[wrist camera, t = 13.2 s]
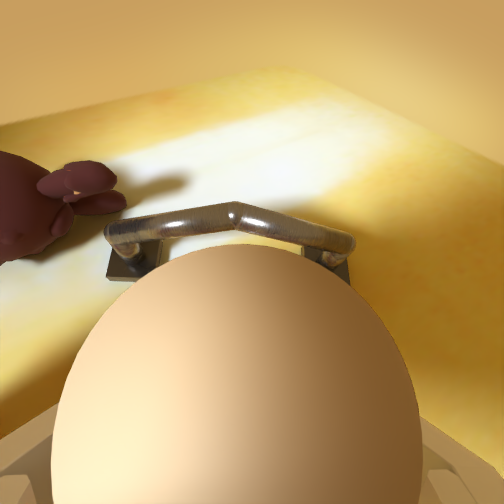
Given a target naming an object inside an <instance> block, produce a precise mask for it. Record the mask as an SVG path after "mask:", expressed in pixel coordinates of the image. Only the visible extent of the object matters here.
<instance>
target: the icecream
mask: <svg viewBox="0 0 504 504" xmlns="http://www.w3.org/2000/svg"><path fill="white" fill-rule="evenodd" d="M116 183H117V176H116V175H115V174H114V173H113V172H112V171H111V170H110V169H109V168H107V167H106V166H105V165H104V164H102V163H99V162H94V161H90V160H89V161H79V162H72V163H69V164H66V165H65V166H64V169H60V170H56V171H54V172H52V173H50V172H49V171H48V170H46V169H44V168H42V167H41V166H39V165H37V164H35V163H33V162H31V161H29V160H27V159H25V158H23V157H21V156H17V155H14V154H10V153H7V152H3V151H0V266H1V265H2V264H3V263H4V262H6V261H13V260H16V259H18V258H21V257H23V256H25V255H28V254H39V253H40V252H41V251H43V250H44V249H45V247H46V246H47V245H49V244H50V243H52V242H53V241H55V240H56V238H57V237H61V236H64V235H65V234H66V233H67V232H68V230H69V229H70V227H71V225H72V223H73V217H74V215H103V214H107V213H112V212H116V211H119V210H121V209H123V208H125V207H126V199H125V197H124V196H123V194H121V193H119V192H117V191H115V190H110V189H113V187H114V186H115V184H116Z"/></svg>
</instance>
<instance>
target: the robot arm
mask: <svg viewBox="0 0 504 504" xmlns="http://www.w3.org/2000/svg"><path fill="white" fill-rule="evenodd" d="M58 405H59V402H58V403H57V404H55V405H54V406H52V407H51V408H49V409H48V410H46V411H44V412H43V413H41V414H40V415H38V416H37V417H35V418H33V419H32V420H30V421H29V422H27V423H26V424H24V425H22V426H21V427H19V428H18V429H16V430H15V431H13V432H12V433H10V434H8V435H7V436H5V437H4V438H2V439H1V440H0V504H54V501H53V496H52V478H51V454H52V440H53V431H54V426H55V420H56V415H57V410H58ZM420 423H421V429H422V446H423V468H422V482H421V491H420V497H419V502H418V504H504V479H503V478H502V477H501V476H500V474H499V473H498V472H497V471H496V469H495V468H494V467H493V466H491V465H490V464H488V463H487V462H485V461H484V460H482V459H481V458H480V457H478V456H477V455H475V454H474V453H472V452H471V451H469V450H468V449H467V448H465V447H464V446H462V445H461V444H459V443H458V442H456V441H455V440H454V439H452V438H451V437H449V436H448V435H446V434H445V433H444V432H442V431H441V430H439V429H438V428H436V427H435V426H433V425H432V424H431V423H429V422H428V421H426V420H425V419H423V418H422V417H420Z"/></svg>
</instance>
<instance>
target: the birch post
mask: <svg viewBox="0 0 504 504" xmlns="http://www.w3.org/2000/svg"><path fill="white" fill-rule="evenodd" d="M422 468H423V446H422V429H421V423H420V416H419V409H418V404H417V400H416V396H415V393H414V389H413V385H412V381H411V378H410V376H409V373H408V371H407V368H406V365H405V363H404V360H403V358H402V356H401V354H400V352H399V350H398V348H397V346H396V344H395V342H394V340H393V338H392V336H391V335H390V333H389V332H388V330H387V328H386V327H385V325H384V324H383V322H382V321H381V319H380V318H379V317H378V315H377V314H376V313H375V312H374V310H373V309H372V308H371V307H370V305H369V304H368V303H367V302H366V301H365V300H364V299H363V298H362V297H361V296H360V295H359V294H358V293H357V292H356V291H355V290H354V289H353V288H352V287H351V286H350V285H348V284H347V283H346V282H345V281H343V280H342V279H341V278H340V277H338V276H337V275H336V274H334V273H332V272H331V271H329V270H328V269H326V268H324V267H323V266H321V265H320V264H318V263H315V262H313V261H311V260H309V259H307V258H305V257H303V256H300V255H297V254H294V253H292V252H289V251H286V250H282V249H277V248H273V247H268V246H260V245H250V244H237V245H223V246H216V247H209V248H205V249H202V250H198V251H194V252H191V253H188V254H185V255H183V256H180V257H178V258H175V259H173V260H171V261H169V262H167V263H165V264H163V265H161V266H159V267H157V268H156V269H154V270H152V271H151V272H150V273H148V274H147V275H145V276H144V277H142V278H141V279H139V280H138V281H137V282H135V283H134V284H133V285H132V286H131V287H130V288H128V289H127V290H126V291H125V292H124V293H123V294H121V295H120V296H119V298H118V299H117V300H116V301H115V302H114V303H113V304H112V305H111V306H110V307H109V308H108V309H107V310H106V312H105V313H104V314H103V315H102V317H101V318H100V319H99V321H98V322H97V324H96V325H95V326H94V328H93V329H92V330H91V332H90V333H89V335H88V337H87V338H86V340H85V342H84V344H83V345H82V347H81V349H80V351H79V352H78V354H77V356H76V359H75V361H74V363H73V365H72V368H71V370H70V372H69V374H68V377H67V379H66V382H65V386H64V389H63V392H62V395H61V398H60V402H59V405H58V410H57V415H56V420H55V426H54V431H53V440H52V454H51V478H52V496H53V501H54V504H418V502H419V497H420V491H421V482H422Z"/></svg>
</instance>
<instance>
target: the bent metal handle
mask: <svg viewBox="0 0 504 504" xmlns="http://www.w3.org/2000/svg"><path fill="white" fill-rule="evenodd" d="M229 230H238V231H242V232H246V233H250V234H255V235H259V236H263V237H267V238H271V239H276V240H280V241H284V242H288V243H293V244H297V245H301V246H302V248H301V255H302V256H303V257H305V258H307V259H309V260H311V261H313V262H315V263H318V264H320V265H321V266H323V267H324V268H326V269H328V270H329V271H331V272H332V273H334V274H336V275H337V276H338V277H340V278H341V279H342V280H343V281H345V282H346V283H347V284H348V285H350V280H349V272H348V265H347V257H348V256H349V255H350V254H351V253H352V252H353V251H354V249H355V247H356V240H355V238H354V236H353V235H352V234H350V233H348V232H345V231H341V230H338V229H334V228H331V227H327V226H323V225H320V224H316V223H313V222H309V221H306V220H302V219H298V218H295V217H291V216H288V215H284V214H281V213H277V212H273V211H270V210H266V209H263V208H259V207H256V206H252V205H248V204H245V203H241V202H238V201H232V202H227V203H221V204H215V205H208V206H202V207H196V208H190V209H184V210H178V211H172V212H165V213H159V214H153V215H147V216H141V217H135V218H129V219H123V220H116V221H112V222H110V223H108V224H107V226H106V227H105V229H104V236H105V239H106V240H107V241H108V242H109V243H110V245H111V246H112V252H111V256H110V260H109V265H108V269H107V273H106V277H107V278H108V279H109V280H110V281H130V282H137V281H138V280H139V279H141V278H142V277H144V276H145V275H147V274H148V273H150V272H151V271H152V270H154V269H156V268H157V267H159V263H160V256H161V250H162V243H163V242H162V240H163V239H171V238H178V237H185V236H193V235H200V234H207V233H215V232H222V231H229Z"/></svg>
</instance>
